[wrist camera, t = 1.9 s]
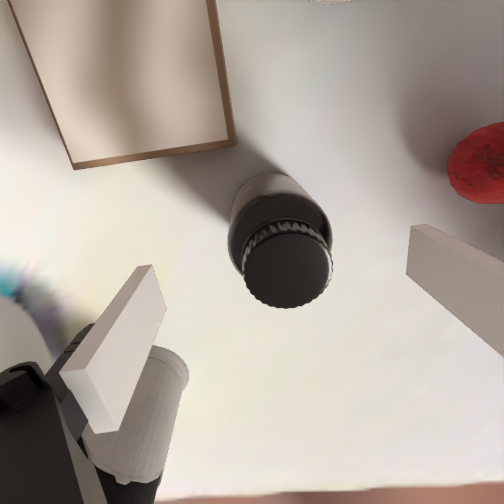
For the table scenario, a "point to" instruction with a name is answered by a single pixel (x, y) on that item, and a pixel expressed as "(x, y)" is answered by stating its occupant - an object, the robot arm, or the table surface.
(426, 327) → the table surface
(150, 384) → the glass holder
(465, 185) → the onion
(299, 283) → the supplement bottle
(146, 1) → the plinth
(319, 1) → the ramekin
